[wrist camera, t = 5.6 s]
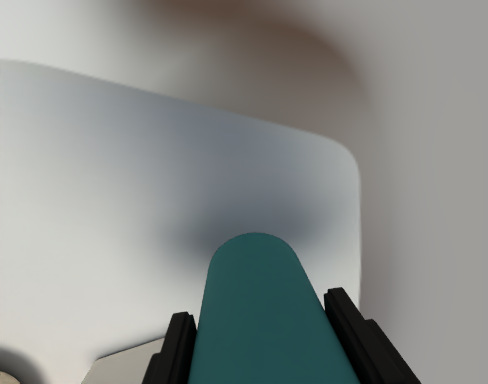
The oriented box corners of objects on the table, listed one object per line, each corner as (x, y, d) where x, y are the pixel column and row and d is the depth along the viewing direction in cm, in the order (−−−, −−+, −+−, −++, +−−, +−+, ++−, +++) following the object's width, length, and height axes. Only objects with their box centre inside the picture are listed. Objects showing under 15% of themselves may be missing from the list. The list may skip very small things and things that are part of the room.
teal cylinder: (199, 240, 14) (132, 456, 5) (295, 224, 14) (417, 411, 5) (216, 322, 15) (190, 618, 6) (305, 308, 15) (414, 582, 6)
